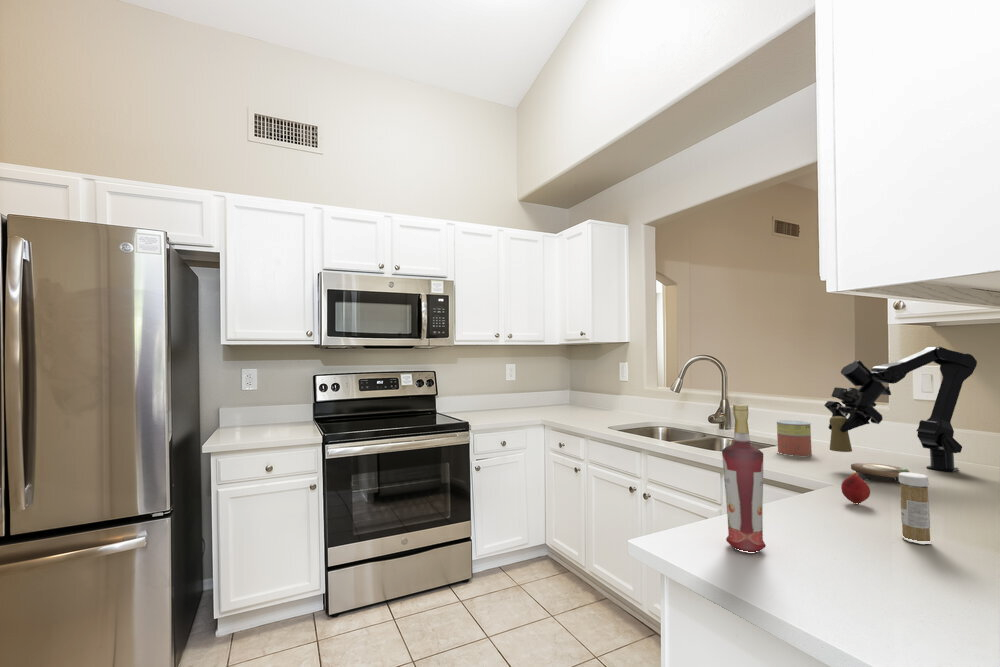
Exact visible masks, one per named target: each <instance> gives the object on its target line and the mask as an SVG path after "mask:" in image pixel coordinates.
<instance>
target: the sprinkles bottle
mask: <svg viewBox="0 0 1000 667" xmlns="http://www.w3.org/2000/svg"><path fill="white" fill-rule="evenodd" d="M899 482H900V483H899ZM899 482H898V483H899V487H900V516H901V518H900V519H901V529H902V530H901V531H902V535H903V536H904V537H905V538H908V539H912V540H917V541H930V540H931V530H930V529H931V517H930V516H931V515H930V501H929V484H930V483H929V477H928V475H926V474H922V473H917V472H910V471H909V472H902V473H899Z"/></svg>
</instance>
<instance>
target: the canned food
mask: <svg viewBox="0 0 1000 667" xmlns="http://www.w3.org/2000/svg"><path fill="white" fill-rule="evenodd" d="M811 428H812V427H811V422H808V421H801V420H777V421H776V434H777V435H776V436H777V437H776V438H777V453H778V452H779V453H778V454H780V453H782V454H781V455H783V454H786V455H785V456H789V455H793V456H792V457H799V456H807V457H811V456H810V455H812V456H813V453H812V452H813V451H812V430H811Z"/></svg>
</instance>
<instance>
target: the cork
mask: <svg viewBox="0 0 1000 667" xmlns="http://www.w3.org/2000/svg"><path fill="white" fill-rule="evenodd" d="M847 419H848V417H847V416H846V417H841V416H834V417H832V416H831V417H830V418H829V424H830V425H831V426H832V430H831V431H830V443H829V450H830V451H833V452H840V453H851V452H853V448H852V444H851V439H850V434H849V430H848V431H846V432H841V431H840V429H841V428H842V426H843V425H844V423H845V422H846V421H847Z"/></svg>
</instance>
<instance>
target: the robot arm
mask: <svg viewBox="0 0 1000 667" xmlns="http://www.w3.org/2000/svg"><path fill="white" fill-rule="evenodd" d="M930 363H934V364H937V365H939V370H940V373H941V375H942V380H941V382H940V386H939V389H938V393H937V396H936V399H935V401H934V404H933V408H932V411H931V414H930V417H929V418H927V419H925V420H923V419H921V420H920V421H919V424H918V428H917V429H916V432H917V433H916V434H917V438H918V439H919V441H920V443H921V447H922V448H923V449H928V450H929V457H930V460H929V461H930V465H927V466H926V469H929V470H936V471H937V470H938V471H942V472H943V471H944V472H950V473H954V472H956V471H959V470H958V469H959V467H956V466H955V457H954V456H955V454H958V453H959V454H960V453H961V452H962V449H963V446H962V444H960V443H959V442H958V441H957V439H955V438H954V435H955V431H954V428H953V425H952V423H951V421H952V418H953V415H954V412H955V409H956V405H957V402H958V399H959V397H960V394H961V393H960V392H961V390H962V386H963V383H964V382H965V381H966V380H967V379H968V378H969V377H970V376H972V375H973V373H974V371H975V369H976V367H977V365H978V360H977V359H976V358H975V356H973V355H972V354H971V353H963V352H959V351H955V350H951V349H947V348H944V347H942V346H927V347H926V348H924V349H923V350H919V351H918V352H916V353H914V354H911V355H909V356H906V357H904V358H902V359H900V360H897V361H894V362H891V363H890V362H889V363H883V364H879V365H875V366H873V367H872V368H871V369H869V368H868V367H867V366H866V365H864V362H862V361H861V360H854V361H853V362H851V363H849V364H847V365H846V366H843V367H842V369H841V370H840V374H841V375H843V377H845V379H847V380H848V382H850V384H852V385H853V386H854V387H848V388H844V387H836V386H835V387H834V389H833V390H832V393H831V397H832V398H837V399H838V400H841V401H840V402H841V403H840V402H839V401H836V400H835V401H834V400H827V401H826V402H825V403H824V407H825V408H826V409H827V410H829V412H831V414H832V416H831V417H834V416H841V417H846V418H847V421H846V422H845V423H844V425H843V426H842V428H841V429H840V431H841V432H846V431H848V432H849V431H851V430H853V429H857V428H859V427H863V426H865V425H870V424H877V425H880V423H881V422H882V421H883V415H882V414H881V413H880V411H878V410H877V409H876V408H875V407H876V406H877V403H876V401H877V400H878V399H879V398H880V397H881V396H882V395H883V396H892V392H891V389H890V386H885V385H884V384H897V383H898V382H900V381H902V380H903V379H905V377H906V376H907V375H908V374H909V373H910V372H913V371H915V370H918V369H920V368H921V367H924V366H926V365H928V364H930ZM855 387H859V388H855ZM848 415H849V416H848ZM847 416H848V417H847ZM870 422H871V423H870ZM828 429H829V430H832V426H831V425H830V423H829V424H828Z"/></svg>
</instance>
